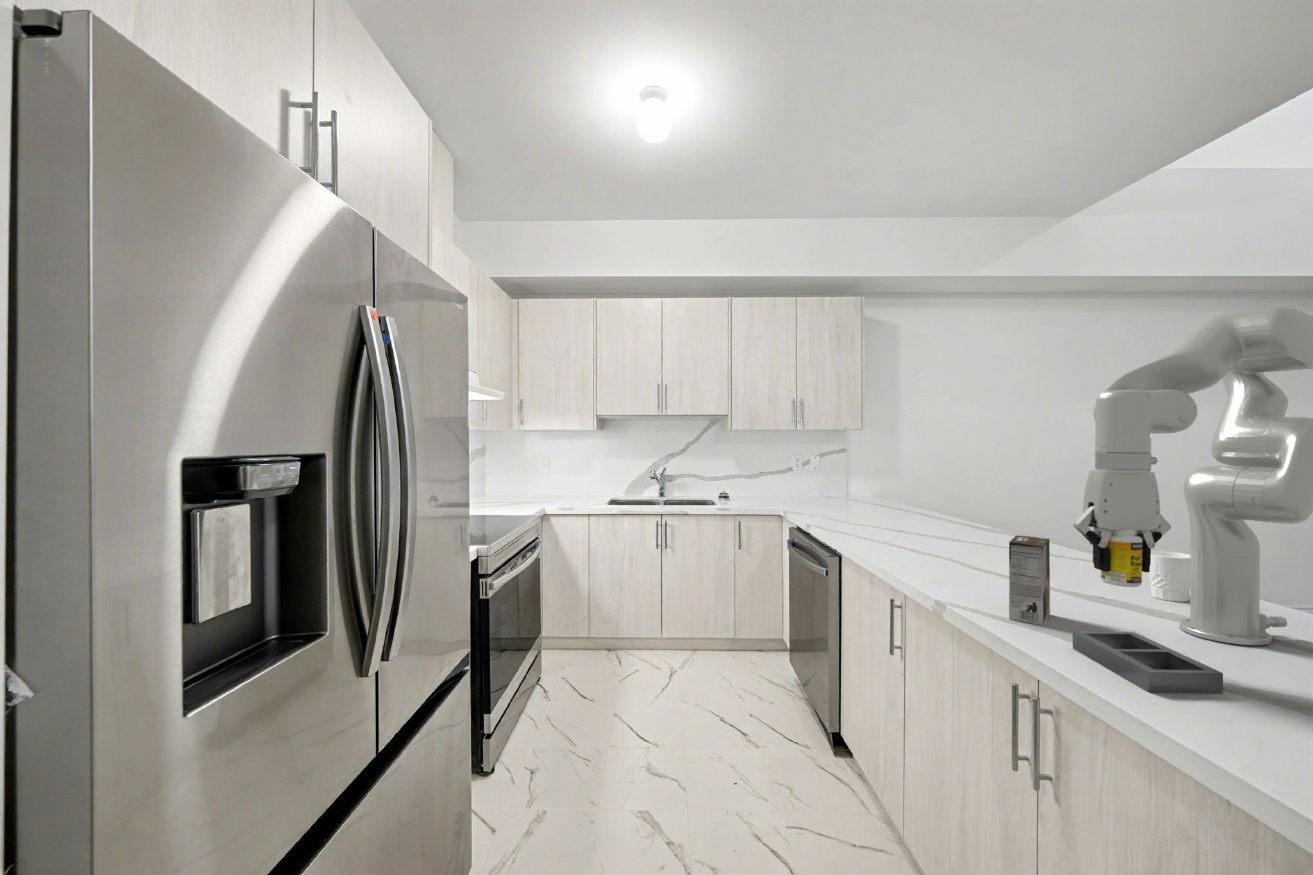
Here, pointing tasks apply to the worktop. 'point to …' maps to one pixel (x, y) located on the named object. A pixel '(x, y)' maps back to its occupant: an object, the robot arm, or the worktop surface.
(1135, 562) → the supplement bottle
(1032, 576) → the coffee box
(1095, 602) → the worktop surface
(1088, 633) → the dark grey divided tray
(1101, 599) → the worktop surface
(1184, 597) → the white cup
